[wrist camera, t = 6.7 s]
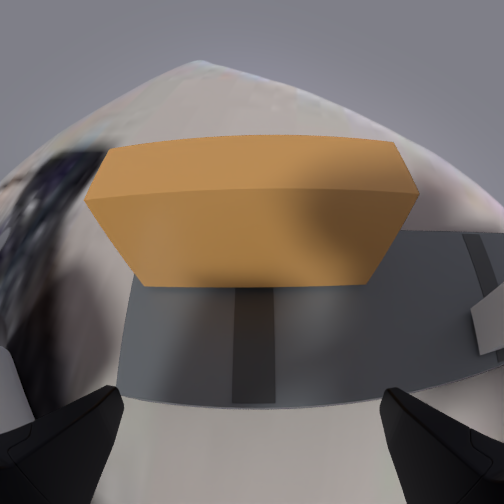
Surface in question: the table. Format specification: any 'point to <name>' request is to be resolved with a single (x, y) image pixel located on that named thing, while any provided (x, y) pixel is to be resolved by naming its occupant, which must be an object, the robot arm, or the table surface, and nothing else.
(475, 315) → the white slider
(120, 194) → the orange slider
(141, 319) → the switch box
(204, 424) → the table surface
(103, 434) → the robot arm
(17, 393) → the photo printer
